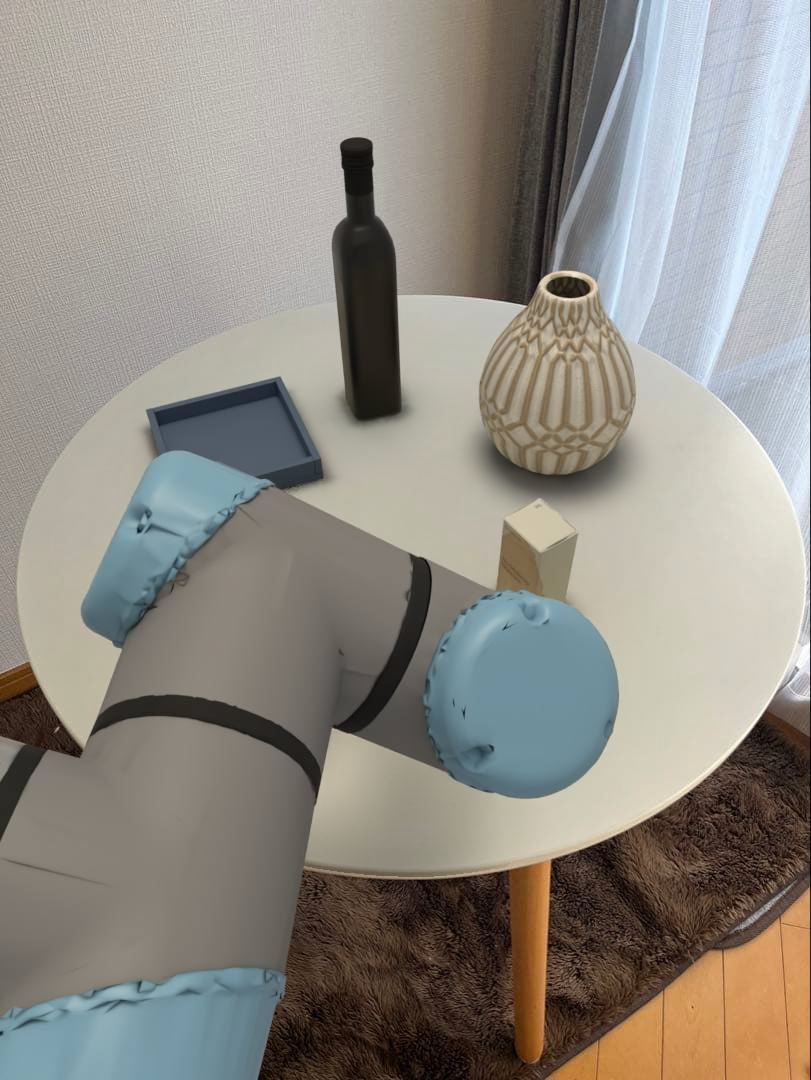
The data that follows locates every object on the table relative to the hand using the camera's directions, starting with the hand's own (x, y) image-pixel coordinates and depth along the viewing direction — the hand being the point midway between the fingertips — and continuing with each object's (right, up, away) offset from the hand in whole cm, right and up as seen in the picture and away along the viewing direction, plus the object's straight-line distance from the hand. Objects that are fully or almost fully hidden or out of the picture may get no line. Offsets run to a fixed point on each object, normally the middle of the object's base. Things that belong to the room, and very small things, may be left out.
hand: (302, 644), depth 66 cm
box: (+19, +1, +17) cm, 25 cm away
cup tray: (-11, +17, +33) cm, 39 cm away
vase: (+23, +17, +32) cm, 43 cm away
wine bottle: (+4, +23, +38) cm, 45 cm away
